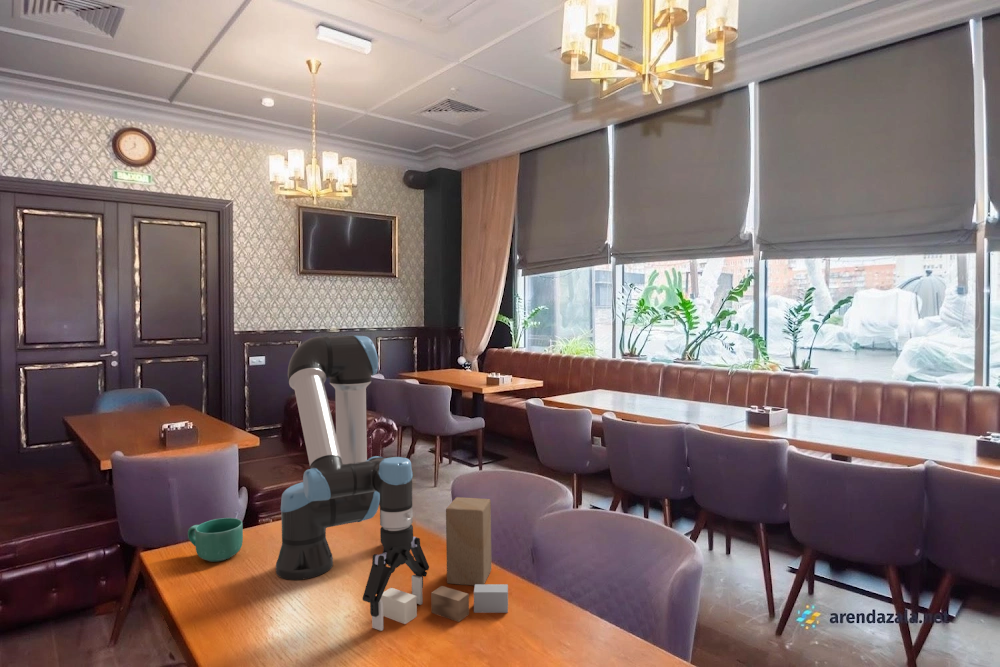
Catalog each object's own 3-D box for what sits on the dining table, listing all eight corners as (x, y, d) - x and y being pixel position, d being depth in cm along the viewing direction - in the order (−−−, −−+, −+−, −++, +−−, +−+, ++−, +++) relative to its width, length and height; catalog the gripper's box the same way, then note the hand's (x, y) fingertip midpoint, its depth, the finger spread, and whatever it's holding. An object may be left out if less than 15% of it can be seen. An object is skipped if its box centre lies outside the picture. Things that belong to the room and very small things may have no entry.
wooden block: (483, 587, 150) (482, 510, 149) (446, 584, 152) (445, 508, 151) (491, 570, 160) (490, 498, 159) (456, 567, 162) (455, 496, 161)
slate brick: (474, 613, 137) (473, 592, 137) (475, 604, 141) (474, 584, 141) (507, 613, 137) (507, 592, 137) (508, 604, 141) (507, 584, 141)
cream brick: (379, 615, 137) (379, 594, 136) (391, 607, 140) (391, 587, 140) (405, 624, 132) (404, 603, 132) (416, 617, 136) (416, 596, 135)
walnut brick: (431, 613, 137) (431, 592, 137) (441, 606, 141) (441, 585, 140) (459, 622, 133) (458, 600, 133) (469, 614, 136) (468, 593, 136)
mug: (252, 551, 175) (252, 520, 174) (220, 568, 163) (219, 535, 162) (209, 544, 180) (209, 514, 180) (175, 561, 168) (174, 528, 168)
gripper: (370, 546, 123) (371, 645, 123) (442, 512, 144) (443, 596, 144) (344, 540, 127) (346, 635, 127) (418, 507, 148) (420, 589, 148)
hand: (398, 615), depth 136 cm, fingers open, 13 cm apart
